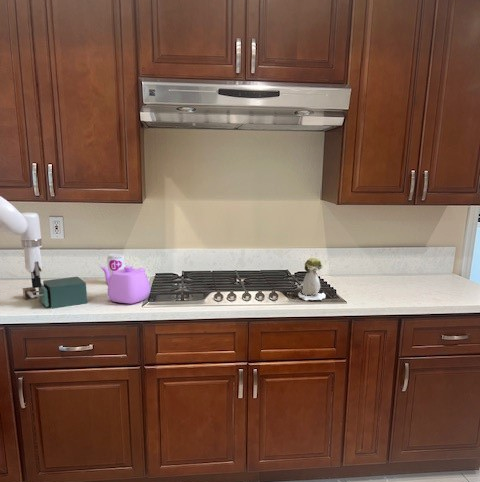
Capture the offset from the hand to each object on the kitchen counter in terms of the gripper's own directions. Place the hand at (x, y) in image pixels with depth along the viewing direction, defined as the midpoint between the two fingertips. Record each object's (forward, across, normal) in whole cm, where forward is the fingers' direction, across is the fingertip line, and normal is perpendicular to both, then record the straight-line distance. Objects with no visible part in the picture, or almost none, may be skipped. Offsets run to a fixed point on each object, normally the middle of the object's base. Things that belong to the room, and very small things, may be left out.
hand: (36, 287), depth 193 cm
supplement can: (+9, -17, +40) cm, 44 cm away
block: (+8, -13, -1) cm, 15 cm away
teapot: (+9, +11, +35) cm, 38 cm away
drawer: (+7, 0, +6) cm, 9 cm away
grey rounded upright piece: (+10, +50, +108) cm, 119 cm away
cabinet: (+8, 0, +11) cm, 14 cm away
